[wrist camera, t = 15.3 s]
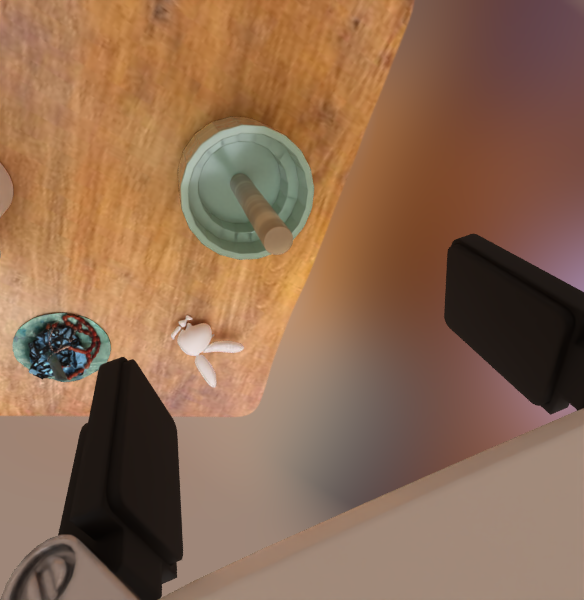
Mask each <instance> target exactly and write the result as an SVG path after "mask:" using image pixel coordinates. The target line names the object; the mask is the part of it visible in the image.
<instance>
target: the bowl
mask: <svg viewBox="0 0 584 600" xmlns="http://www.w3.org/2000/svg"><path fill="white" fill-rule="evenodd" d="M239 173H242V174H245V175H247V176H248V177H249V179H250V180H251V181H252V182H253V184H254V185H255V186H256V188H257V189H258V190H259V191H260V193H261V194H262V195H263V196H264V198H265V199H266V200H267V202H268V203H269V204H270V205H271V207H272V208H273V209H274V211H275V212H276V213H277V214H278V216H279V217H280V218H281V220H282V221H283V222H284V223H285V225H286V226H287V227H288V229H289V230H290V231H291V233H292V235H293V240H294V238H295V237H296V236H297V235H298V233H299V232H300V231H301V230H302V229H303V227H304V225H305V223H306V221H307V219H308V216H309V214H310V212H311V209H312V203H313V195H314V185H313V179H312V173H311V169H310V167H309V165H308V163H307V161H306V159H305V157H304V155H303V153H302V151H301V150H300V149H299V148H298V147H297V146H296V145H295V144H294V143H293V142H292V141H291V140H290V139H289V138H288V137H286V136H285V135H284V134H282V133H280V132H278V131H277V130H275V129H273V128H272V127H270V126H268V125H266V124H263V123H261V122H259V121H257V120H254V119H251V118H243V117H228V118H224V119H221V120H217V121H214V122H212V123H210V124H208V125H207V126H205V127H204V128H203V129H201V130H200V131H199V132H197V133H196V134H195V135H194V136H193V138H192V139H191V140H190V142H189V143H188V145H187V146H186V148H185V149H184V151H183V153H182V157H181V161H180V164H179V168H178V185H179V195H180V201H181V208H182V211H183V213H184V216H185V218H186V221H187V223H188V226H189V228H190V230H191V231H192V232H193V233H194V234H195V236H196V237H197V238H198V239H199V240H200V241H201V243H202V244H203V245H205V246H206V247H208V248H210V249H211V250H213V251H214V252H216V253H218V254H219V255H223V256H227V257H231V258H234V259H239V260H242V259H259V258H262V257H265V256H268V255H271V253H269V252H268V251H267V250H266V249H265V247H264V246H263V244H262V242H261V240H260V239H259V237H258V235H257V233H256V232H255V230H254V228H253V226H252V225H251V223H250V221H249V219H248V218H247V216H246V214H245V212H244V211H243V209H242V207H241V205H240V204H239V202H238V200H237V198H236V197H235V195H234V193H233V191H232V190H231V187H230V181H231V178H232V177H233V176H234V175H236V174H239Z"/></svg>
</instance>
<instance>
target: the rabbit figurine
mask: <svg viewBox="0 0 584 600" xmlns="http://www.w3.org/2000/svg"><path fill="white" fill-rule="evenodd" d="M187 320H193V319H192V317H190V316H188V315H186V319H185V320H180V321H179V322H178V323H179V325H180V326H181V327H185V326H186V322H187ZM180 326H177V327H176V328H175V330H174V331H173V332H172V334H171V337H172V339H174V338H175V336H176V334H177V333H178V332H179V331H180V329H181V327H180ZM213 336H215V335H214V334H213V335H212V330H211V327H210V326H209V325H208V324H206V323H201V324H197V325H195V326H192V325H191V323H187V327H186V329H185V330H183V329H182V330H181V332H180V334H179V336H178V339H177V342H178V345H179V346H180V348H181V349H182V350H183V351H184V352H185V353H186V354H188V355H192V356H197V357H196V358H195V364H196V366H197V368H198V370H199V372H200V373H201V375H202V376H203V377H204V379H205V381H206V382H207V383H208V384H209V385H210V386H211V387H216V373H215V371H214V368H213V367H212V365H211V364H210V362H209V361H208V360H207V359H206V358H205V357H204V356H203V355H199V354H200V353H201V352H202V351H203V353H207V352H229V353H236V352H239V351H242V350H243V349H244V346H243V345H242V344H241V343H238V342H234V341H216V342H213V343H211V344H209V343H210V341H211V338H212V337H213ZM208 344H209V345H208Z"/></svg>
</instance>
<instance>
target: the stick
mask: <svg viewBox="0 0 584 600" xmlns="http://www.w3.org/2000/svg"><path fill="white" fill-rule="evenodd" d="M230 187H231V190H232V191H233V193H234V195H235V197H236V198H237V200H238V202H239V204H240V205H241V207H242V209H243V211H244V212H245V214H246V216H247V218H248V219H249V221H250V223H251V225H252V226H253V228H254V230H255V232H256V233H257V235H258V237H259V239H260V240H261V242H262V244H263V246H264V247H265V249H266V250H267V251H268V252H269V253H271V254H274V255H280V254H283V253H285V252H287V251H288V250H289V249H290V247H291V246H292V243H293V235H292V233H291V231H290V230H289V229H288V227H287V226H286V225H285V223H284V222H283V221H282V220H281V218H280V217H279V216H278V214H277V213H276V212H275V211H274V209H273V208H272V207H271V205H270V204H269V203H268V202H267V200H266V199H265V198H264V196H263V195H262V194H261V193H260V191H259V190H258V189H257V188H256V186H255V185H254V184H253V182H252V181H251V180H250V179H249V177H248V176H247V175H245V174H242V173H239V174H236V175H234V176H233V177H232V178H231V181H230Z"/></svg>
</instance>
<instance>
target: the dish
mask: <svg viewBox="0 0 584 600" xmlns="http://www.w3.org/2000/svg"><path fill="white" fill-rule="evenodd" d="M78 316H79V317H76V316H75V314H74V315H72V316H68V315H67V313H56V314H47V315H43V316H39V317H36V318H33V319H32V320H30V321H29V322H27V323H25V324H24V325H23V326H22V327H21V328H20V329H19V330H18V331H17V333H16V335H15V337H14V340H13V352H14V355H15V357H16V359H17V360H18V362H20V363H21V364H23V365H24V367H27V368H28V369H29V373H31V374H33V375H35V376H37V377H39V378H41V379H43V378H49V379H55V380H57V381H61V382H70V381H76V380H80V379H82V378H84V377H86V376H89V375H90V374H92V373H94V372H96V371H98V370H99V367H100V365H101V364H104V363H106V362H107V360H108V358H109V355H110V351H111V345H110V341H109V338H108V336H107V334H106V333H105V332H104V331H103V330H102V329H101V328H100V327H99V326H98V325H97V324H96V323H94V322H93V321H91V320H89V319H87V318H85V317H82V316H80V315H78Z"/></svg>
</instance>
